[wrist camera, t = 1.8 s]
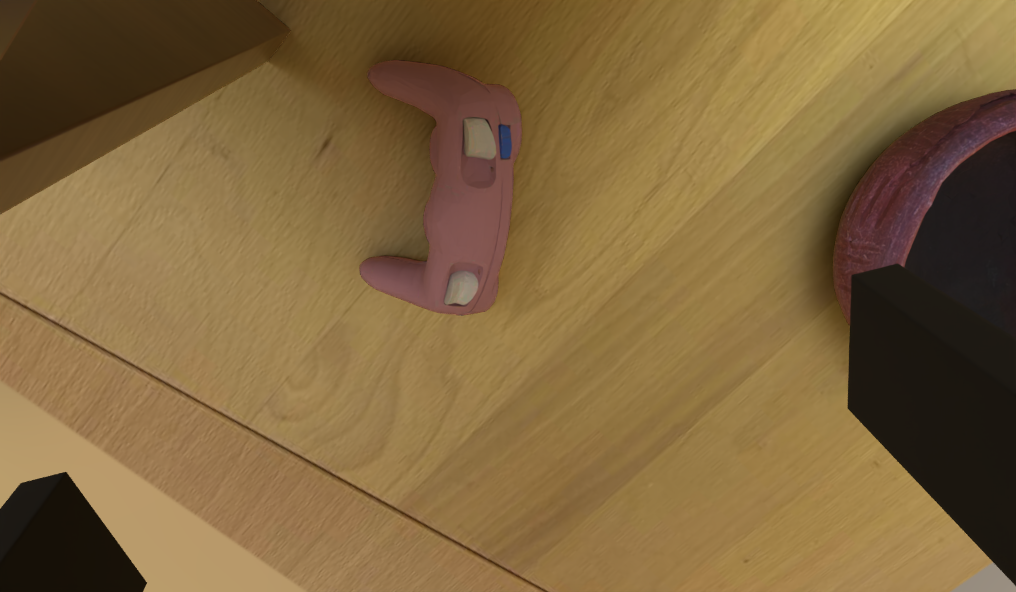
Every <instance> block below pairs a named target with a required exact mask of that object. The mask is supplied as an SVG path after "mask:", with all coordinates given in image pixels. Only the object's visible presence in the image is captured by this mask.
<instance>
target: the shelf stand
mask: <svg viewBox="0 0 1016 592" xmlns="http://www.w3.org/2000/svg"><path fill="white" fill-rule="evenodd" d="M290 31H291V30H290V29H289V28H288V27H287V26H286V25H284V24H283V23H282V22H281V21H280V20H279V19H277V18H276V17H275V16H274V15H273V14H272V13H270V12H269V11H268V10H267V9H266V8H265V7H264V6H262V5H261V4H260V3H259V2H258V1H257V0H38V1H37V2H36V4H35V6H34V7H33V9H32V10H31V12H30V14H29V15H28V17H27V19H26V20H25V22H24V23H23V25H22V27H21V28H20V30H19V32H18V33H17V35H16V37H15V38H14V40H13V41H12V43H11V45H10V46H9V48H8V50H7V51H6V53H5V54H4V56H3V58H2V59H1V61H0V214H2V213H4V212H5V211H7V210H9V209H11V208H12V207H14V206H16V205H18V204H19V203H21V202H23V201H25V200H26V199H28V198H30V197H32V196H33V195H35V194H37V193H39V192H40V191H42V190H44V189H46V188H47V187H49V186H51V185H53V184H54V183H56V182H58V181H60V180H61V179H63V178H65V177H67V176H68V175H70V174H72V173H74V172H75V171H77V170H79V169H81V168H82V167H84V166H86V165H88V164H89V163H91V162H93V161H95V160H96V159H98V158H100V157H102V156H103V155H105V154H107V153H109V152H110V151H112V150H114V149H116V148H117V147H119V146H121V145H123V144H124V143H126V142H128V141H130V140H131V139H133V138H135V137H137V136H138V135H140V134H142V133H144V132H145V131H147V130H149V129H151V128H152V127H154V126H156V125H158V124H159V123H161V122H163V121H165V120H166V119H168V118H170V117H172V116H173V115H175V114H177V113H179V112H180V111H182V110H184V109H186V108H187V107H189V106H191V105H193V104H194V103H196V102H198V101H200V100H201V99H203V98H205V97H207V96H208V95H210V94H212V93H214V92H215V91H217V90H219V89H221V88H222V87H224V86H226V85H228V84H229V83H231V82H233V81H235V80H236V79H238V78H240V77H242V76H243V75H245V74H247V73H249V72H250V71H252V70H254V69H256V68H257V67H259V66H261V65H263V64H264V63H266V62H268V61H269V60H270V58H271V57H272V56H273V54H274V53H275V52H276V50H277V49H278V48H279V46H280V45H281V44H282V42H283V41H284V40H285V38H286V37H287V36H288V34H289V33H290Z"/></svg>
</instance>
